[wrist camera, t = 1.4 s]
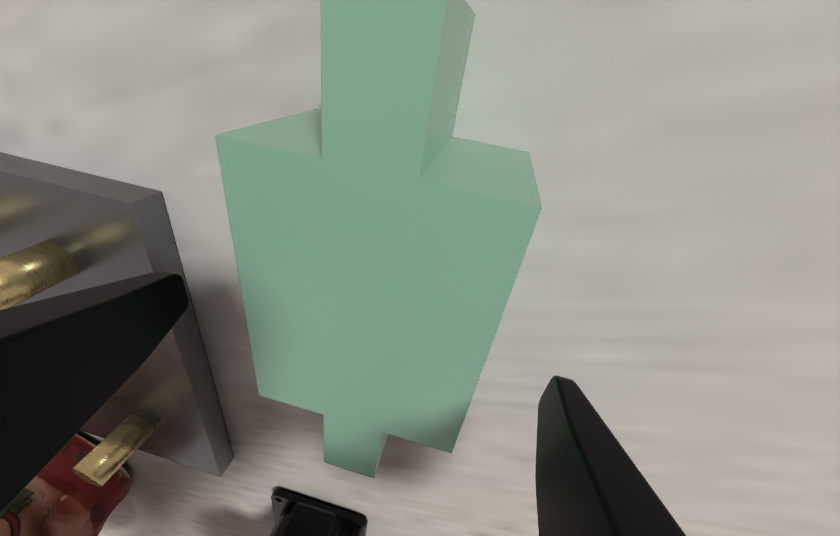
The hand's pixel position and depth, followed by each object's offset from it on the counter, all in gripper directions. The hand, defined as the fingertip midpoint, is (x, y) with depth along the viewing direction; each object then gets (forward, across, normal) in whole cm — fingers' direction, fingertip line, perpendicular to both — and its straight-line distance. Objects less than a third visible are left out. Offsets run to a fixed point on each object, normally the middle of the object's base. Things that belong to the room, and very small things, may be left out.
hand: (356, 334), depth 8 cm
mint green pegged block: (+4, 0, 0) cm, 4 cm away
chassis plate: (+4, +16, +9) cm, 19 cm away
